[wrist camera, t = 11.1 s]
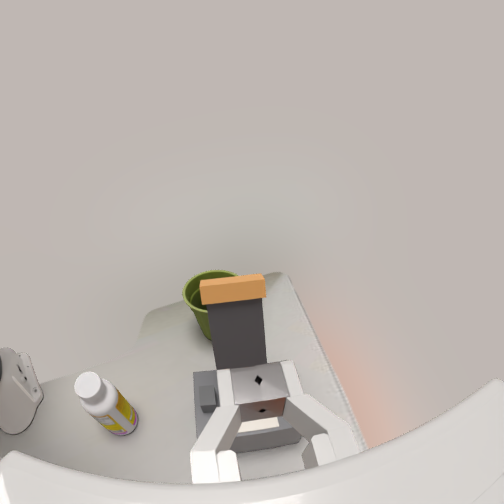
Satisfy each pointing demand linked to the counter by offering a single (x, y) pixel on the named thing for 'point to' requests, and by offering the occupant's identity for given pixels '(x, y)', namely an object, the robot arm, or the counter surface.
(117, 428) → the supplement bottle
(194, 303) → the plant pot
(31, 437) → the counter surface
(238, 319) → the lever
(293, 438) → the box
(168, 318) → the counter surface
